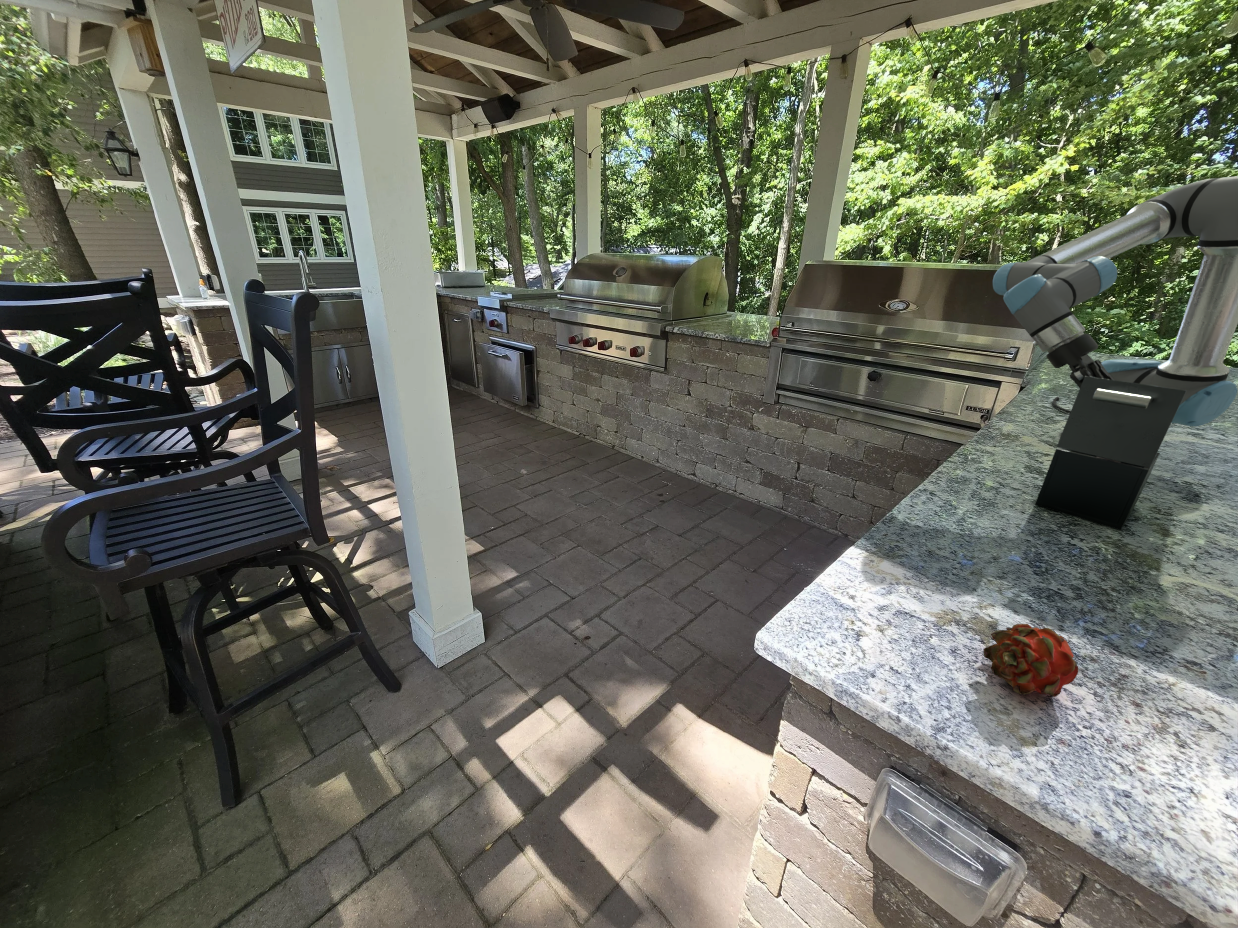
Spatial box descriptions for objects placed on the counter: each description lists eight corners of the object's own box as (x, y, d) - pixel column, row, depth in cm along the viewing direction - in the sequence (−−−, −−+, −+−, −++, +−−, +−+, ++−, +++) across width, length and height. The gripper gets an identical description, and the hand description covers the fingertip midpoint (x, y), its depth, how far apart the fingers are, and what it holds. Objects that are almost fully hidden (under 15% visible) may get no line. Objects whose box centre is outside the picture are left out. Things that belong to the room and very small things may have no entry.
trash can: (1052, 487, 114) (1072, 434, 109) (1133, 509, 104) (1160, 452, 99) (1034, 504, 106) (1055, 448, 101) (1120, 530, 96) (1148, 470, 91)
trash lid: (1085, 376, 97) (1075, 377, 91) (1186, 390, 87) (1183, 392, 81) (1057, 446, 101) (1046, 452, 95) (1150, 467, 91) (1144, 475, 86)
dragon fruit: (993, 713, 60) (1017, 674, 68) (1083, 718, 54) (1099, 675, 62) (964, 642, 62) (992, 613, 69) (1049, 639, 55) (1069, 607, 63)
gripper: (1057, 349, 112) (1126, 437, 106) (1031, 360, 100) (1106, 459, 95) (1097, 327, 106) (1172, 419, 100) (1074, 336, 94) (1157, 441, 89)
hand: (1140, 438), depth 98 cm, fingers closed on smoothie, 6 cm apart
